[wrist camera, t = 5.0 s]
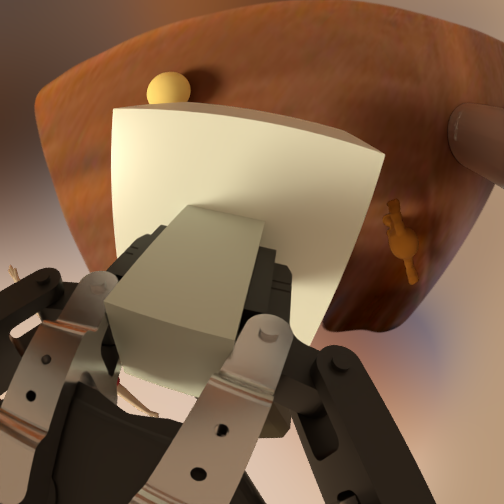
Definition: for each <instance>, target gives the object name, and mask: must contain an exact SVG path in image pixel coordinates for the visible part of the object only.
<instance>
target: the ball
mask: <svg viewBox="0 0 504 504" xmlns="http://www.w3.org/2000/svg"><path fill="white" fill-rule="evenodd" d="M190 92H191V89H190V84H189V82H188V80H187V79H186V78H185V77H184V76H183V75H181V74H179V73H176V72H165V73H162V74H160V75H158V76H157V77H155V78H154V79H153V80H152V81H151V83H150V84H149V87H148V89H147V99H148V102H149V104H160V103H176V102H187V101H188V99H189V97H190Z"/></svg>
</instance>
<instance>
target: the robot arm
mask: <svg viewBox="0 0 504 504" xmlns="http://www.w3.org/2000/svg"><path fill="white" fill-rule="evenodd" d="M448 141H449V145H450V148H451V151H452V153H453V155H454V157H455V158H456V159H457V161H458V162H459V163H460V164H461V165H463V166H465V167H467V168H468V169H470V170H472V171H474V172H476V173H477V174H479V175H481V176H483V177H484V178H486V179H488V180H490V181H491V182H493V183H495V184H496V185H498V186H500V187H501V188H503V189H504V108H500V107H494V106H489V105H483V104H475V103H464V104H461V105H459V106H458V107H457V108H456V109H455V110H454V111H453V113H452V115H451V117H450V120H449V123H448ZM166 227H167V226H166V225H160V226H159V227H158V228H157V229H156V230H155V231H154V232H153V233H152V234H145V235H143V236H141V237H139V238H137V239H136V240H135V241H134V242H133V243H132V244H131V245H130V247H128V248H127V249H126V250H125V251H124V253H122V254H121V255H120V256H119V258H118V259H117V260H116V261H115V262H114V263H113V264H112V265H111V266H110V267H109V268H108V269H107V270H106V271H96V272H92V273H90V274H88V275H86V276H85V277H84V278H82V280H81V281H80V282H79V283H72V282H62V278H61V275H60V273H59V271H58V270H56V269H54V268H43V269H40V270H38V271H36V272H34V273H32V274H30V275H28V276H27V277H25V278H23V279H21V280H19V281H18V282H16V283H14V284H12V285H11V286H9V287H7V288H5V289H4V290H2V291H1V292H0V395H2V394H3V393H4V392H6V391H7V393H6V395H5V398H4V399H3V400H1V399H0V504H266V503H265V501H264V500H263V498H262V497H261V495H260V493H259V492H258V490H257V489H256V487H255V486H254V484H253V482H252V481H251V479H250V477H249V476H248V474H247V472H246V471H245V469H246V466H247V464H248V462H249V459H250V457H251V454H252V452H253V450H254V448H255V445H256V443H257V440H258V438H259V435H260V433H261V430H262V428H263V425H264V423H265V420H266V418H267V415H268V413H269V410H270V407H271V405H272V402H273V401H274V402H276V403H278V404H280V405H282V406H284V407H286V408H288V409H289V411H290V414H291V417H292V419H293V422H294V424H295V427H296V430H297V432H298V435H299V438H300V440H301V443H302V446H303V448H304V451H305V453H306V456H307V458H308V461H309V464H310V466H311V469H312V471H313V474H314V476H315V479H316V481H317V484H318V486H319V489H320V491H321V494H322V497H323V499H324V501H325V504H436V503H435V500H434V498H433V496H432V494H431V492H430V490H429V488H428V486H427V484H426V481H425V480H424V478H423V475H422V474H421V471H420V469H419V467H418V465H417V463H416V461H415V459H414V458H413V456H412V454H411V452H410V450H409V448H408V446H407V444H406V442H405V440H404V438H403V436H402V434H401V433H400V431H399V429H398V427H397V425H396V423H395V421H394V420H393V418H392V416H391V414H390V412H389V410H388V409H387V407H386V405H385V403H384V401H383V400H382V398H381V396H380V394H379V393H378V391H377V389H376V387H375V385H374V384H373V382H372V380H371V378H370V377H369V375H368V373H367V371H366V370H365V368H364V366H363V364H362V363H361V361H360V359H359V358H358V356H357V355H356V354H355V353H354V352H352V351H351V350H349V349H348V348H345V347H342V346H338V345H331V346H327V347H325V348H323V349H322V350H321V351H319V350H316V349H314V348H312V347H310V346H308V345H306V344H304V343H302V342H301V341H300V340H299V339H297V338H296V336H295V335H294V334H293V331H292V329H291V327H290V310H291V291H292V286H291V285H292V273H291V271H290V270H289V268H288V266H287V265H283V264H278V263H275V258H276V250H274V249H270V248H266V247H261V246H259V249H258V253H257V257H256V261H255V265H254V269H253V273H252V277H251V281H250V285H249V289H248V293H247V297H246V301H245V305H244V309H243V314H242V318H241V323H240V328H239V333H238V337H237V341H236V343H235V344H234V347H233V350H231V352H230V353H229V355H228V357H227V359H226V361H225V362H224V364H223V366H222V368H221V370H220V371H219V372H218V373H214V374H213V375H212V376H211V378H210V379H209V381H208V382H207V384H206V386H205V388H204V389H203V391H202V393H201V394H200V396H199V398H198V399H197V401H196V403H195V405H194V407H193V408H192V410H191V411H190V413H189V415H188V417H187V418H186V420H185V421H184V423H181V422H177V421H174V420H171V419H164V418H156V417H147V416H140V415H133V414H129V413H126V412H125V411H123V410H122V409H120V408H119V407H118V406H117V381H118V377H119V373H120V370H121V366H122V363H121V360H120V357H119V354H118V351H117V348H116V345H115V341H114V338H113V335H112V331H111V328H110V324H109V320H108V317H107V313H106V309H105V305H104V300H105V299H106V297H107V296H108V295H109V294H110V292H111V291H112V290H113V289H114V287H115V286H116V285H117V284H118V282H119V281H120V280H121V279H122V277H123V276H124V275H125V274H126V273H127V271H128V270H129V269H130V268H131V267H132V265H133V264H134V263H135V262H136V261H137V260H138V258H139V257H140V256H141V255H142V254H143V253H144V252H145V250H146V249H147V248H148V247H149V246H150V245H151V244H152V242H153V241H154V240H155V239H156V238H157V237H158V236H159V235H160V233H161V232H162V231H163V230H164V229H165V228H166ZM36 313H38V315H39V317H40V319H41V321H42V323H41V324H39V325H38V326H36V327H35V328H33V329H32V330H30V331H29V332H27V333H26V334H24V335H23V336H21V337H19V338H13V337H12V336H11V335H10V331H11V330H12V329H13V328H14V327H15V326H17V325H19V324H20V323H21V322H23V321H25V320H26V319H28V318H30V317H31V316H33V315H34V314H36Z"/></svg>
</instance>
